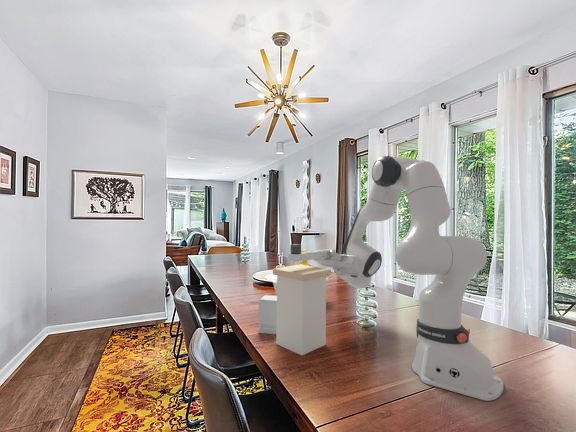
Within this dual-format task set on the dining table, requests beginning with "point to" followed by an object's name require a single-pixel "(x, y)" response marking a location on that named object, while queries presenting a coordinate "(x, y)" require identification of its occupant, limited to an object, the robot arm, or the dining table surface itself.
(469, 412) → the dining table surface
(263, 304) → the supplement box
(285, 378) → the dining table surface
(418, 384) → the dining table surface
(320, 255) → the aluminium bar
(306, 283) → the pedestal
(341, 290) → the dining table surface
